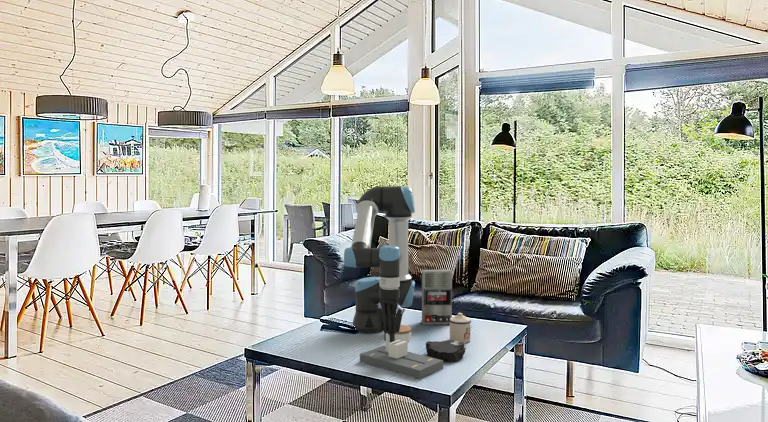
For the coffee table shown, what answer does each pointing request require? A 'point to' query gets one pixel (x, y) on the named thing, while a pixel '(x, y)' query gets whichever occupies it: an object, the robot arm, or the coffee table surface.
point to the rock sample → (445, 350)
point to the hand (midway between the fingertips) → (389, 350)
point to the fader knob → (397, 348)
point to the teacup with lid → (460, 328)
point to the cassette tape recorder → (436, 297)
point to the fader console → (402, 362)
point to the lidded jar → (403, 333)
